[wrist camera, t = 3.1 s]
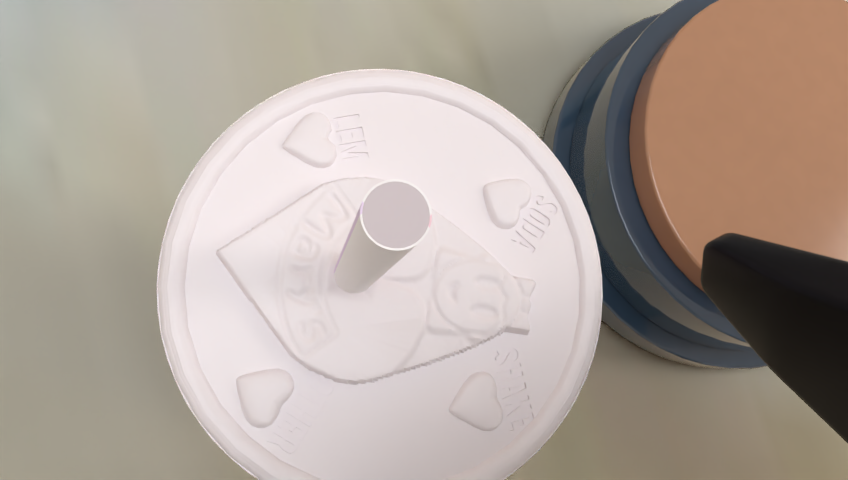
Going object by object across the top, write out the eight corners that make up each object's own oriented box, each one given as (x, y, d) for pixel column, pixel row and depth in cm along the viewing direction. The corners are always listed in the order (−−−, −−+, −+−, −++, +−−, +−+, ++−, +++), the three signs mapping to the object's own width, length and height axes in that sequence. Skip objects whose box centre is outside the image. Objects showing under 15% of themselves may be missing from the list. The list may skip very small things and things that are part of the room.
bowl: (910, 154, 23) (1053, 109, 19) (767, 439, 20) (894, 465, 16) (649, -41, 22) (733, -135, 18) (469, 229, 20) (516, 196, 16)
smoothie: (253, 181, 19) (132, -241, 5) (475, 223, 20) (851, -46, 6) (205, 415, 18) (-104, 636, 4) (443, 448, 19) (817, 717, 5)
